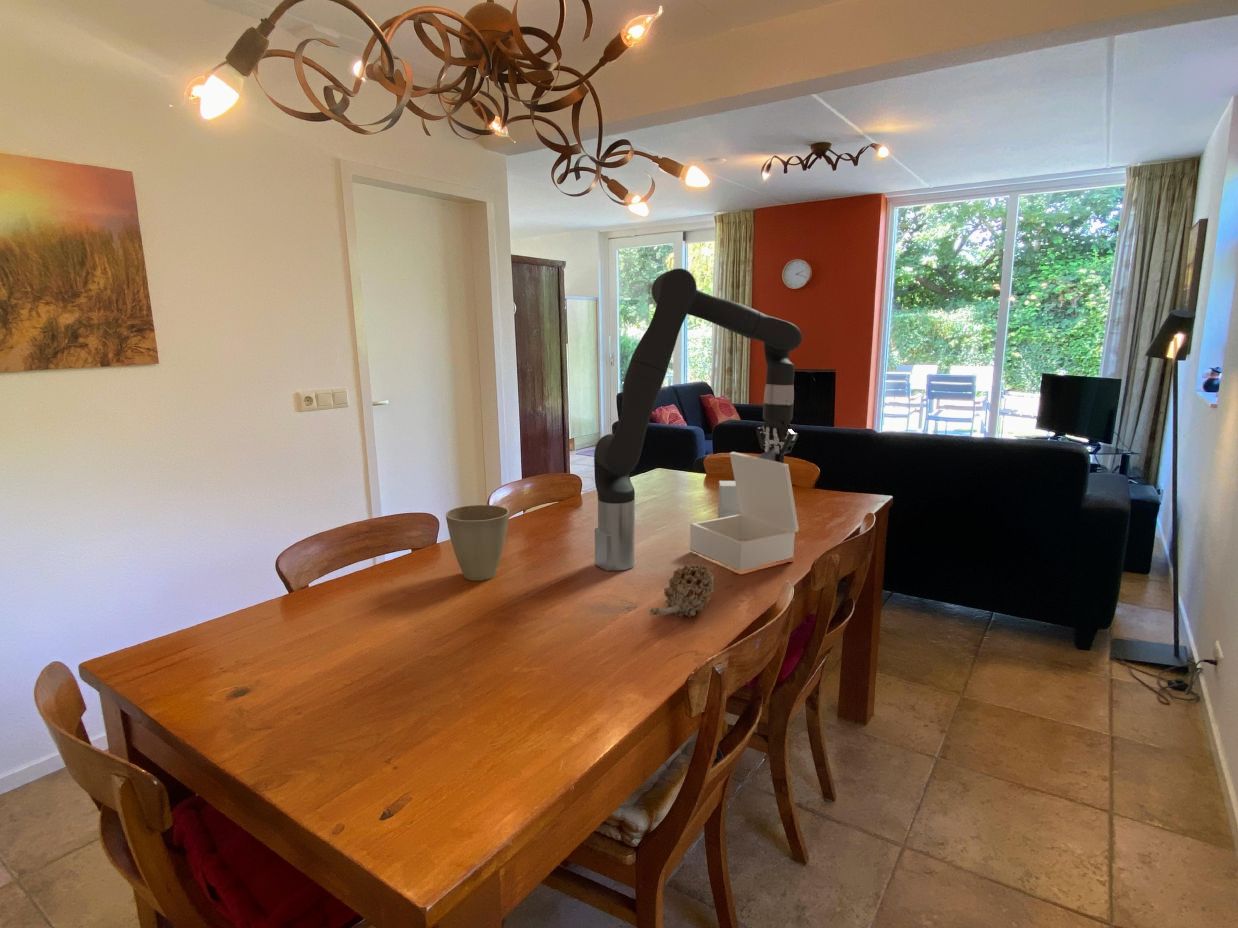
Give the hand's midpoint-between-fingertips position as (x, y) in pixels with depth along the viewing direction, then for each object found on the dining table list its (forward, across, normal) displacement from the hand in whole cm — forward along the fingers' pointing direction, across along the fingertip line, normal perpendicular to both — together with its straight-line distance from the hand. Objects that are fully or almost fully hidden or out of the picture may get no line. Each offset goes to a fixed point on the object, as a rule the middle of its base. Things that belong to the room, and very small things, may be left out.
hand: (774, 466), depth 173 cm
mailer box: (+23, 0, -10) cm, 26 cm away
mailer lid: (+6, 0, -4) cm, 7 cm away
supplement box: (+23, -26, +9) cm, 36 cm away
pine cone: (+24, +22, -46) cm, 57 cm away
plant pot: (+25, -23, -73) cm, 81 cm away
